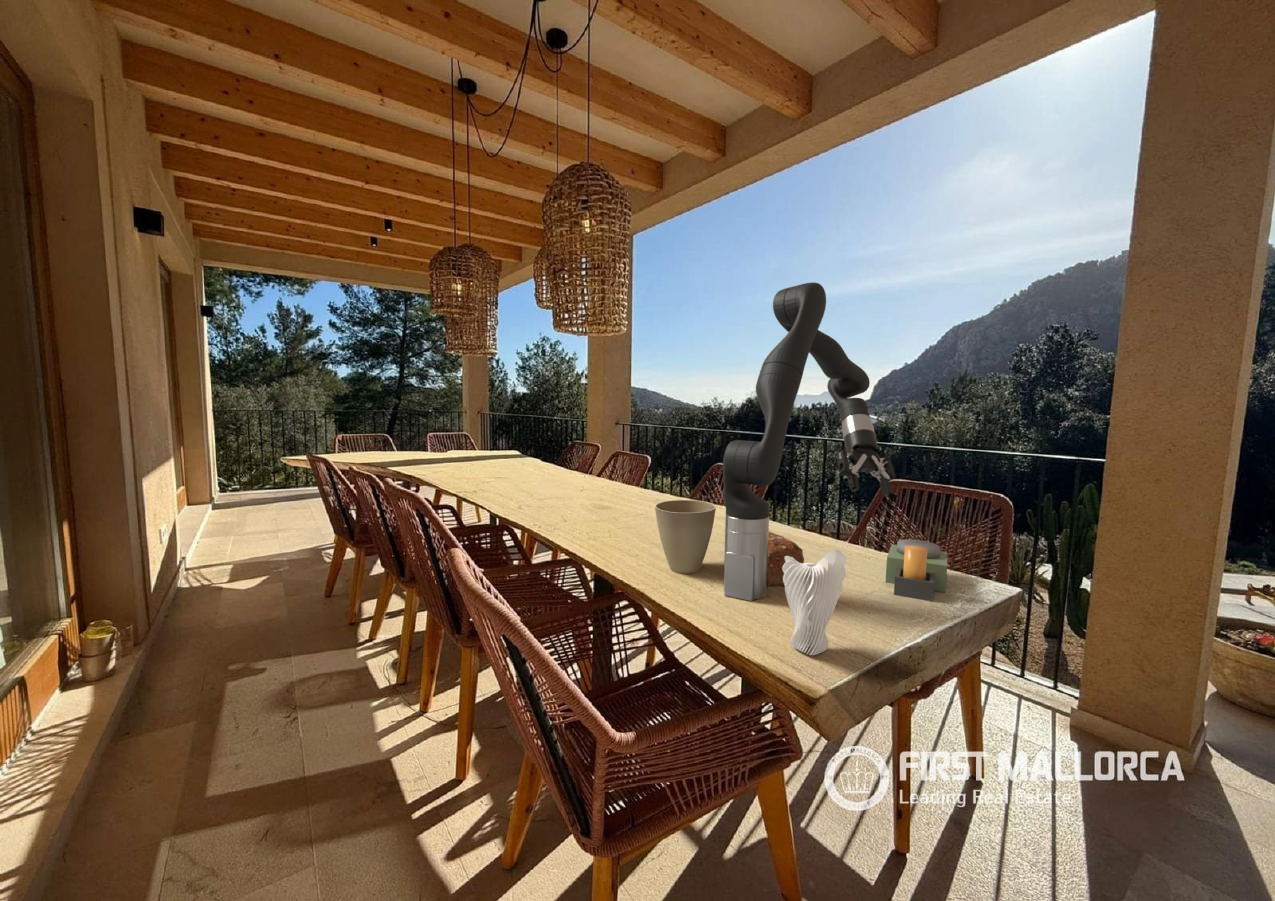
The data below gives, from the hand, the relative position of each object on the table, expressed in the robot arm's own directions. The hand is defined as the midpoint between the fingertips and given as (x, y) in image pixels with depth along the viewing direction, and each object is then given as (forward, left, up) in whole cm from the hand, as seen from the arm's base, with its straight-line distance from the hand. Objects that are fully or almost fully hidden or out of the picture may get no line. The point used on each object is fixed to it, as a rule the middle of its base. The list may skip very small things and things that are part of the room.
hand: (871, 492), depth 127 cm
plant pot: (-22, +39, -20) cm, 49 cm away
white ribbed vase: (-49, +3, -20) cm, 53 cm away
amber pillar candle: (-10, -11, -20) cm, 24 cm away
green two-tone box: (-4, -11, -20) cm, 23 cm away
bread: (-15, +22, -20) cm, 33 cm away
